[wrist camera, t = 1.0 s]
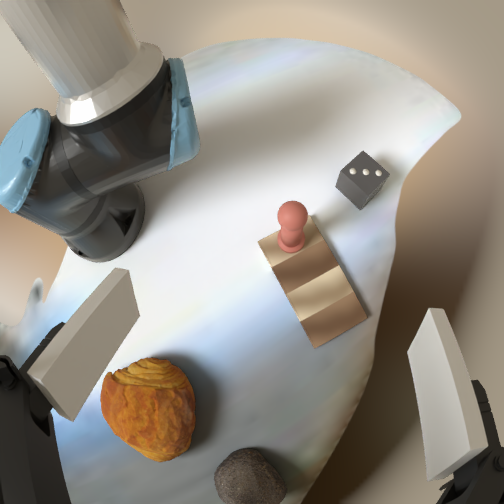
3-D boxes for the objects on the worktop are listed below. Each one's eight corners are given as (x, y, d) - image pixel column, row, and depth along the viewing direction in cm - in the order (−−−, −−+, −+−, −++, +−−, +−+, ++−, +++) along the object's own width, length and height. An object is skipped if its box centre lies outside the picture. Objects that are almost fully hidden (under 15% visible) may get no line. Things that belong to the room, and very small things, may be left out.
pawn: (272, 235, 41) (268, 203, 30) (296, 223, 41) (299, 188, 30) (285, 258, 40) (285, 233, 29) (309, 245, 40) (317, 217, 30)
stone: (217, 457, 38) (209, 513, 30) (219, 440, 34) (209, 508, 25) (280, 463, 38) (278, 519, 30) (293, 447, 34) (292, 513, 25)
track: (258, 243, 42) (257, 241, 41) (308, 217, 42) (309, 214, 41) (313, 348, 37) (314, 348, 37) (365, 318, 38) (367, 317, 37)
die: (335, 187, 43) (340, 170, 38) (356, 167, 43) (363, 150, 38) (360, 210, 41) (368, 195, 37) (380, 189, 42) (390, 173, 37)
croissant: (211, 369, 40) (199, 369, 33) (192, 465, 35) (177, 483, 27) (123, 344, 42) (97, 338, 35) (106, 434, 36) (79, 442, 29)
